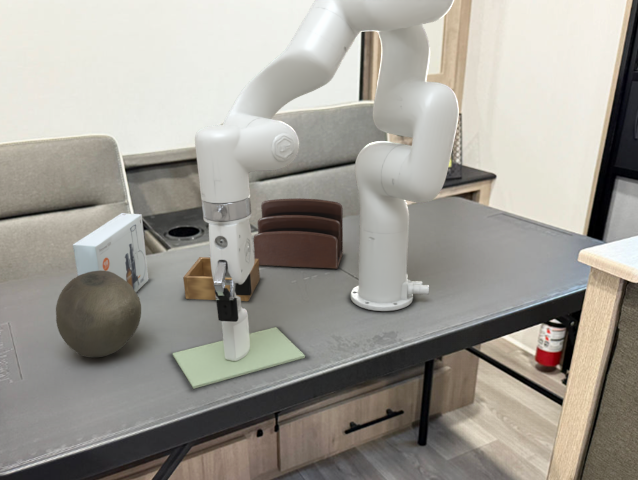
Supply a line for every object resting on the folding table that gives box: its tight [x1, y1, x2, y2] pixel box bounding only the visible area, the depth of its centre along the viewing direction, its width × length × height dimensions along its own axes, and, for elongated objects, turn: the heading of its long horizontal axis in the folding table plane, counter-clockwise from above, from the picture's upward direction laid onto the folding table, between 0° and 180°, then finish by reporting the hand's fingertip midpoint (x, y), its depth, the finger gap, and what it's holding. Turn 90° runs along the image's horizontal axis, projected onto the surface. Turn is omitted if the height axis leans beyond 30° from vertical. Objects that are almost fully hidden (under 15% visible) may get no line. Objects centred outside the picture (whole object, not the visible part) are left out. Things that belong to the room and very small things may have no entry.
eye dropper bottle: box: [221, 293, 250, 361], centre depth 102 cm, size 4×6×12 cm
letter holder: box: [252, 197, 344, 270], centre depth 142 cm, size 10×20×14 cm, turn 78°
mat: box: [172, 326, 306, 390], centre depth 105 cm, size 20×12×1 cm, turn 116°
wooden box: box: [182, 256, 261, 302], centre depth 130 cm, size 14×12×5 cm
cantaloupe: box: [55, 270, 142, 358], centre depth 105 cm, size 14×14×15 cm
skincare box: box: [72, 212, 150, 293], centre depth 125 cm, size 21×5×16 cm, turn 168°
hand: (235, 307), depth 101 cm, fingers open, 9 cm apart
